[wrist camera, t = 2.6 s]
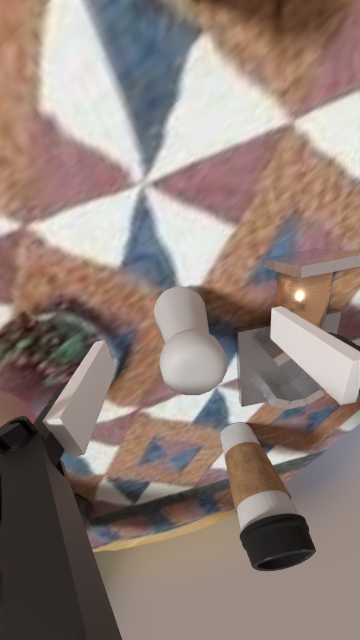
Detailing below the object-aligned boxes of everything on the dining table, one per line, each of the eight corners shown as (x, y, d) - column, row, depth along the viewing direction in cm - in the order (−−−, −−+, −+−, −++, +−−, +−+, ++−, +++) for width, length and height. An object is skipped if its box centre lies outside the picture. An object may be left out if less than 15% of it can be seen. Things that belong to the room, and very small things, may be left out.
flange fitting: (239, 401, 30) (257, 440, 25) (231, 265, 21) (258, 275, 15) (320, 385, 31) (357, 419, 25) (347, 242, 21) (418, 243, 15)
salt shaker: (192, 330, 24) (220, 417, 12) (150, 320, 23) (137, 405, 11) (207, 289, 22) (261, 346, 10) (162, 275, 21) (162, 321, 9)
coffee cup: (256, 412, 32) (327, 541, 18) (258, 441, 35) (319, 568, 22) (210, 424, 32) (245, 560, 18) (217, 451, 35) (251, 584, 22)
